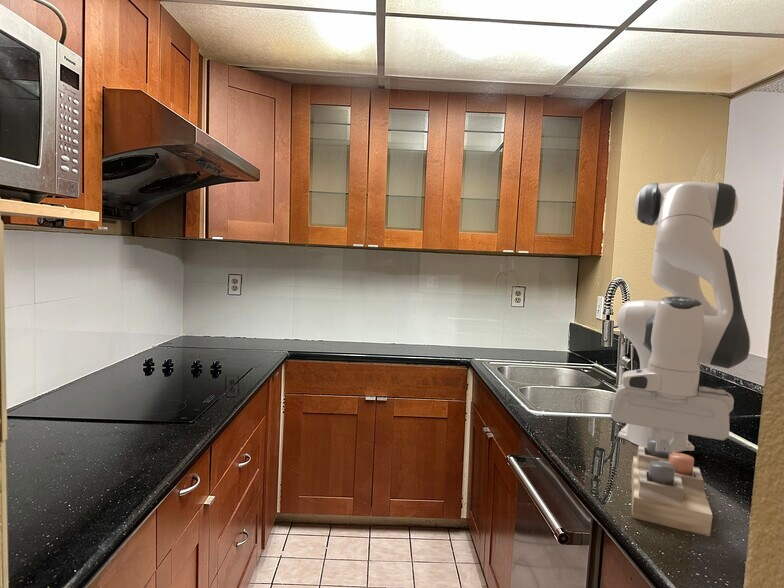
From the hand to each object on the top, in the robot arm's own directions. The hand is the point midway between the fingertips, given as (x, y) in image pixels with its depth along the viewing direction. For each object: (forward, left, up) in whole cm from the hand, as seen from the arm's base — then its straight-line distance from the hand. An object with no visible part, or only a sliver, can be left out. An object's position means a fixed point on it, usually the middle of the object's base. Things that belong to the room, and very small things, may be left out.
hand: (663, 452), depth 104 cm
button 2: (0, 0, -6) cm, 6 cm away
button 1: (-16, 0, -6) cm, 17 cm away
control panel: (-8, +2, -12) cm, 15 cm away
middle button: (-8, +4, -6) cm, 11 cm away
